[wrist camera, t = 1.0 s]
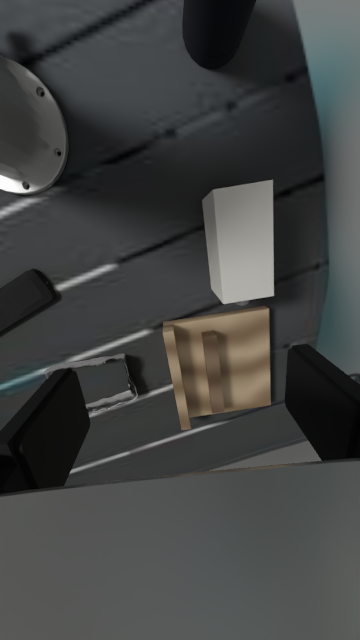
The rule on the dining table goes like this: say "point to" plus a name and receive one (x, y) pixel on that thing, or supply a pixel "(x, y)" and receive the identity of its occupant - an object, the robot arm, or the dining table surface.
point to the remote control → (23, 297)
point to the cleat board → (232, 358)
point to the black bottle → (214, 29)
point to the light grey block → (240, 241)
